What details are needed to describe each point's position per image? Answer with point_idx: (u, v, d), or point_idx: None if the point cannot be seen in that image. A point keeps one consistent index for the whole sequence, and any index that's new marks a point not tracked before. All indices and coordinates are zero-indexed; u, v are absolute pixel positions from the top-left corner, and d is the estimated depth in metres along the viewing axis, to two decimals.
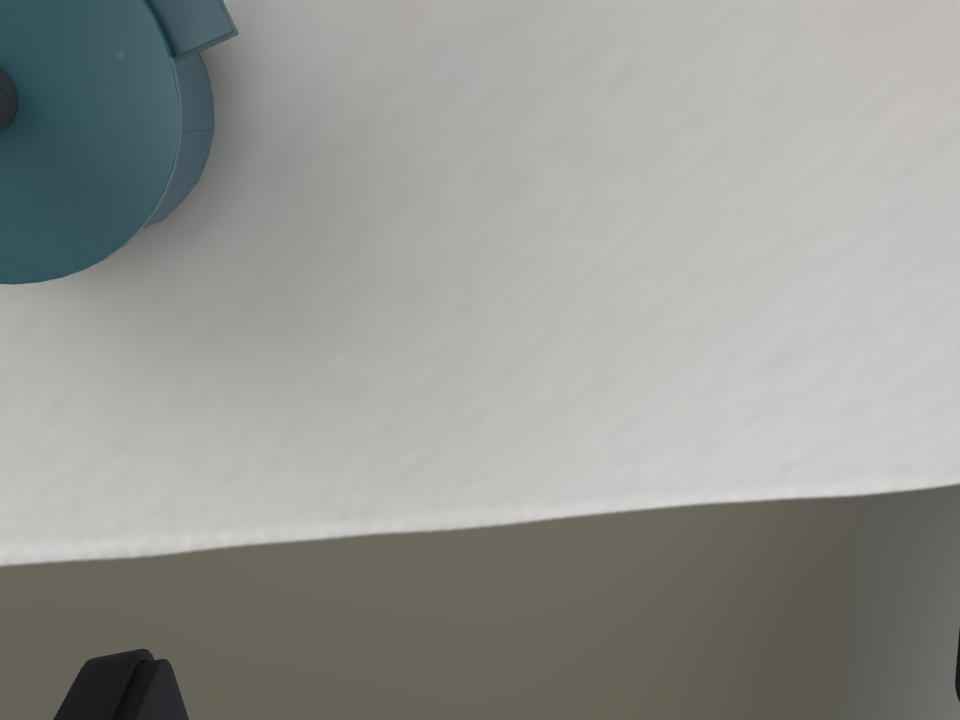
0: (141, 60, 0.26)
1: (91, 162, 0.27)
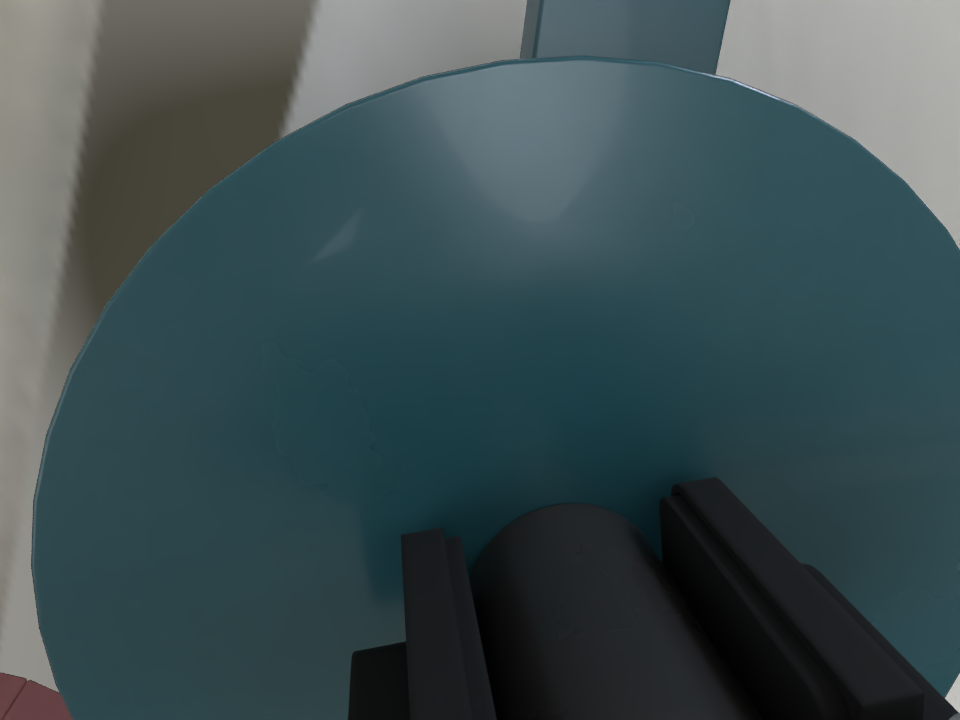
0: (726, 170, 0.09)
1: (836, 449, 0.10)
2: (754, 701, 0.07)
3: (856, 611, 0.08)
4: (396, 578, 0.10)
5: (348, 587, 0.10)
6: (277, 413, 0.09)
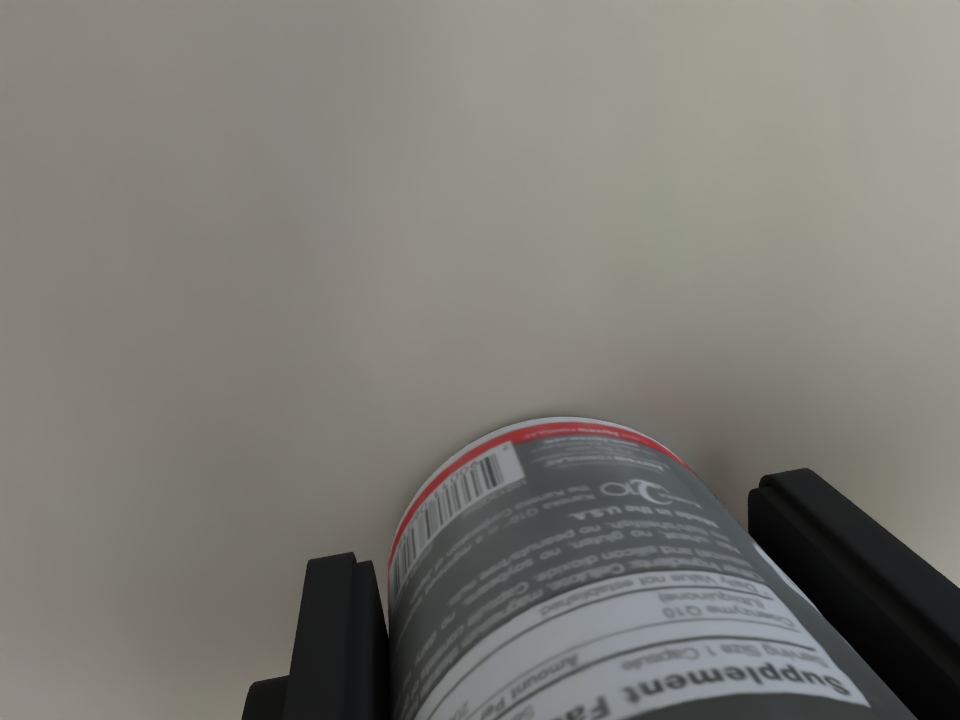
0: None
1: None
2: None
3: None
4: None
5: None
6: None
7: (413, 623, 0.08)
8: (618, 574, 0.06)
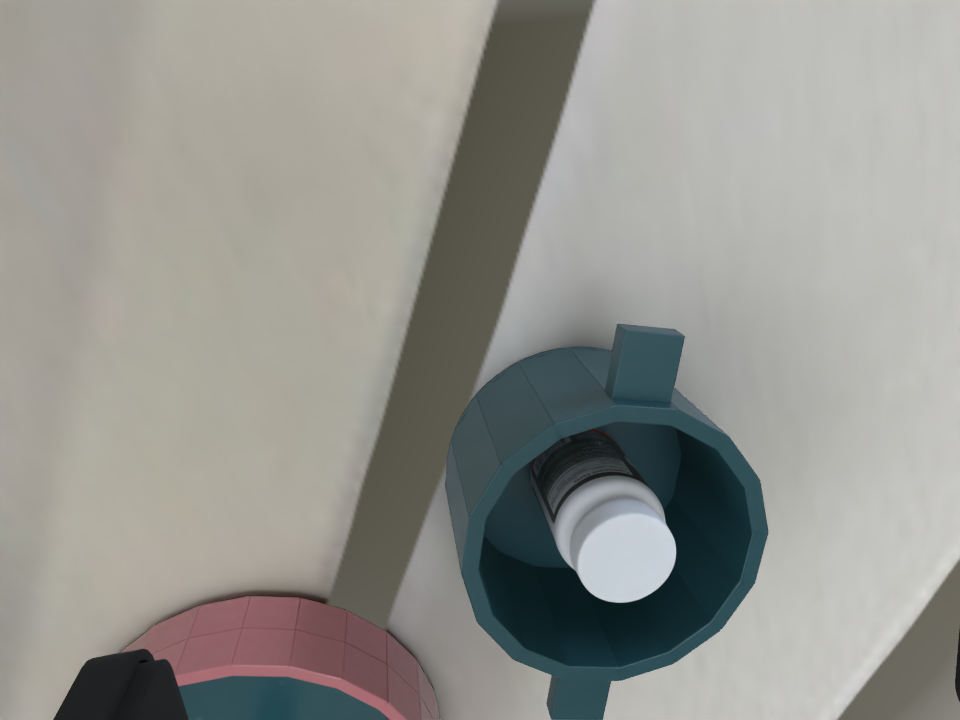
0: None
1: None
2: None
3: None
4: None
5: None
6: None
7: (546, 472, 0.34)
8: (592, 457, 0.32)
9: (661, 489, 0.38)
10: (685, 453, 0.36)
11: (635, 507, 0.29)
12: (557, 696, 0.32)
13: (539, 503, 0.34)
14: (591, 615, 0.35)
